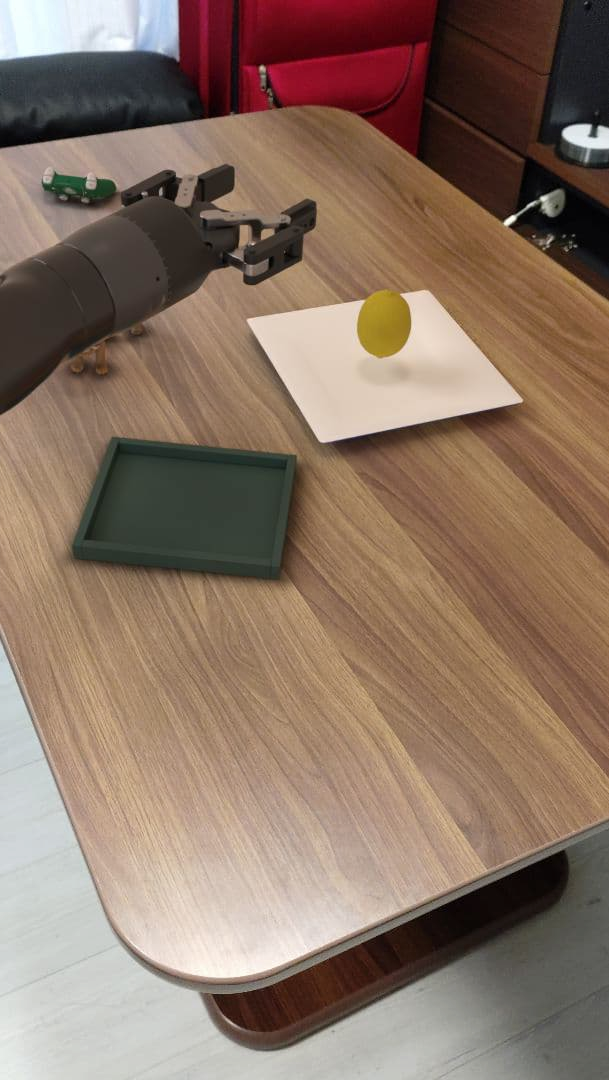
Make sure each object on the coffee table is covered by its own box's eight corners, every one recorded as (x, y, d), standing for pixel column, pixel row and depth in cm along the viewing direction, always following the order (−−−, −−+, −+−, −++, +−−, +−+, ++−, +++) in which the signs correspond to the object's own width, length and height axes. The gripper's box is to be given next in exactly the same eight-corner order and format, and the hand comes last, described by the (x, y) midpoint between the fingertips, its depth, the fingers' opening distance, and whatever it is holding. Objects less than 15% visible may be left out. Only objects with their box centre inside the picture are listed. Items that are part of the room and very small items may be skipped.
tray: (73, 558, 83) (71, 545, 82) (113, 449, 93) (111, 436, 92) (279, 579, 82) (280, 566, 81) (296, 467, 93) (296, 454, 92)
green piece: (47, 203, 131) (32, 187, 125) (51, 175, 131) (36, 158, 125) (114, 212, 130) (101, 196, 124) (118, 184, 130) (106, 167, 124)
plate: (245, 333, 108) (245, 317, 107) (425, 303, 115) (428, 287, 113) (319, 458, 94) (320, 441, 92) (520, 416, 100) (525, 399, 99)
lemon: (376, 378, 100) (384, 311, 94) (343, 352, 103) (349, 285, 97) (416, 362, 102) (427, 295, 97) (383, 337, 105) (392, 270, 100)
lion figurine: (105, 398, 99) (97, 322, 92) (55, 390, 99) (43, 313, 93) (149, 321, 109) (144, 247, 102) (104, 314, 109) (96, 240, 103)
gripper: (200, 256, 64) (345, 176, 73) (52, 185, 70) (204, 120, 79) (202, 352, 69) (337, 266, 79) (64, 279, 75) (206, 207, 84)
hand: (271, 193), depth 79 cm, fingers open, 8 cm apart
